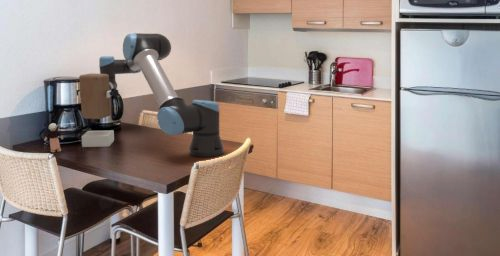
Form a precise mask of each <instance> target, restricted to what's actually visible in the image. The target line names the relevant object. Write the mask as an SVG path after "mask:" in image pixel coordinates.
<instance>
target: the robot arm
mask: <svg viewBox="0 0 500 256" xmlns="http://www.w3.org/2000/svg"><path fill="white" fill-rule="evenodd" d="M170 53H172V44H171V42H170V40H169V38H167V37H166V36H165V35H163V34H160V33H137V32H134V33H128V34H126V35H125V37H124V39H123V42H122V55H123V57H124V59H115V57H114V56H110V55H107V56H105V55H103V56H100V57H99V61H98V62H99V65H98V66H99V74H108V75H109V88H110V90H109V91H107V98H109V97H110V98H111V97H113V96H119V90H118V89H117V88H118V83H117V81H116V75H123V74H125V75H126V74H127V75H128V74H139V73H142V74H143V76H144V78H145V81H146V82H147V84H148V87H149V88H150V90H151V92H152V94H153V96H154V97H155V100H156V101H157V104H158V106H159V107H158V111H157V114H156V115H157V116H156V117H157V123H158V126H159V129H160V130H161V131H162V132H163V133H165V135H168V136H179V135H181V134H187V133H192V137H191V141H190V144H189V147H188V148H189V149H188V152H189V155H191V156H194V157H201V158H203V157H204V158H205V157H207V158H209V157H218V156H220V155H222V154H224V144H223V141H222V139H221V136H220V135H221V134H220V105H219V103H218V102H216V101H213V100H207V99H206V100H203V99H193V100H192V101H191V104H187V103H186V102H185V100H184V98H183V97H180V96H178V94H177V92H176V90H175V89H174V86H173V85H172V83H171V82H170V80H169V77H168V76H167V74H166V73H165V71H164V68H163V67H162V65H161V63H160V61H162V60H164V59H166V58H167V57H168V56H169V55H170ZM75 92H76V96H78V99H81V95H80V89H76V91H75Z"/></svg>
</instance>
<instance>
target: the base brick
mask: <svg viewBox="0 0 500 256" xmlns="http://www.w3.org/2000/svg"><path fill="white" fill-rule="evenodd" d="M114 132H115V131H114V130H112V129H111V130H87V131H86V132H85V133H84V134H83V135H81V147H82V148H96V147H97V148H99V147H101V148H102V147H103V148H104V147H106V148H107V147H110V146H111V145H112V144H113V143H114V141H115V133H114Z"/></svg>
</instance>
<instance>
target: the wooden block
mask: <svg viewBox="0 0 500 256" xmlns="http://www.w3.org/2000/svg"><path fill="white" fill-rule="evenodd" d="M78 78H79V79H78V80H79V90H80V95H81V98H80V108H81V118H83V119H89V120H102V119H105V118H107V117H110V116H112V110H111V109H112V108H111V105H112V104H111V97H109V98H107V91H109V90H110V88H109V75H108V74H100V73H92V72H91V73H85V74H80V75H79V76H78Z"/></svg>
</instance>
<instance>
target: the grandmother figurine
mask: <svg viewBox="0 0 500 256" xmlns="http://www.w3.org/2000/svg"><path fill="white" fill-rule="evenodd" d="M57 127H58V125H57V124H56V123H55V122H52V123H50V124H49V125H48V130H50V131H49V132H47V133H46V135H45V136H44V139H43V140H44V141H45V142H46V141H48V139H49V147H50V152H51V153H56V152H61V151H62V149H61V144H60V140H64V137H63V134H61V133H60V131H57ZM59 138H60V140H59Z"/></svg>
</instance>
